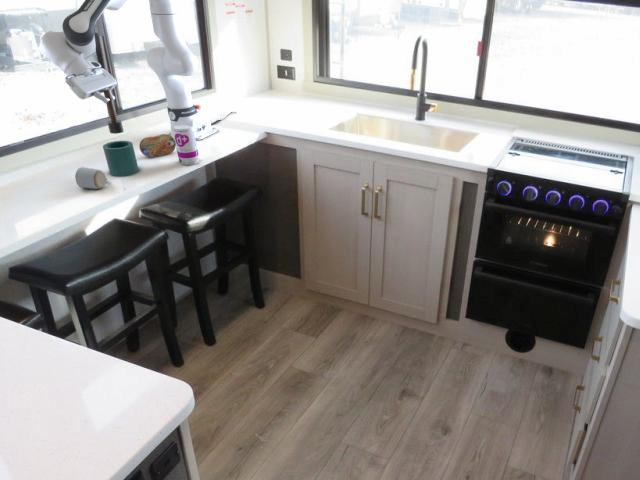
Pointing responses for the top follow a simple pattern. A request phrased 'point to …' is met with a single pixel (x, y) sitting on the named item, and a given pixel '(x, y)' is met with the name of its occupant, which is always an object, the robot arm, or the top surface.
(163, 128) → the top surface
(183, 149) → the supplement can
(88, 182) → the ceramic mug
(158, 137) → the tin
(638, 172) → the top surface
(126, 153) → the teal pen holder
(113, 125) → the dish brush
